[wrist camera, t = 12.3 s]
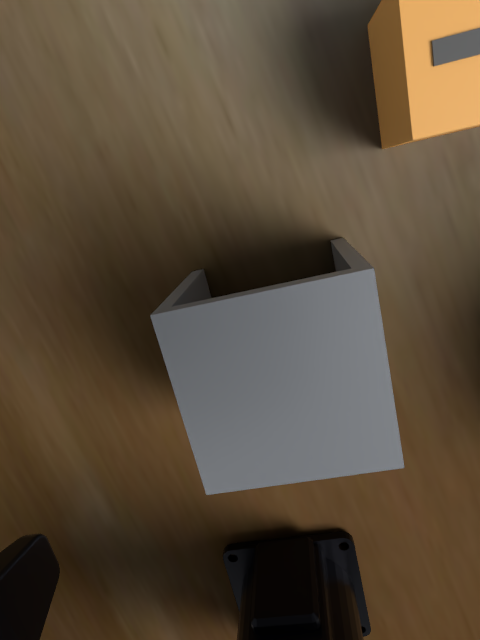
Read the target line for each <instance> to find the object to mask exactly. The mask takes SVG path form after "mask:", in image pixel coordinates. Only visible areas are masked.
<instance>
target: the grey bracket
mask: <svg viewBox="0 0 480 640" xmlns="http://www.w3.org/2000/svg"><path fill="white" fill-rule="evenodd" d="M330 241H331V246H332V252H333V257H334V263H335V269H336V272H333V273H328V274H323V275H319V276H314V277H309V278H304V279H300V280H295V281H290V282H286V283H281V284H276V285H271V286H267V287H262V288H257V289H253V290H248V291H243V292H239V293H234V294H229V295H224V296H220V297H215V298H211V294H210V291H209V287H208V283H207V280H206V276H205V272H204V269H201V270H197V271H192V272H191V273H190V274H189V275H188V276H187V277H186V278H185V279H184V281H183V282H182V283H181V284H180V285H179V286H178V287H177V288H176V289H175V290H174V291H173V292H172V293H171V294H170V295H169V296H168V297H167V298H166V299H165V300H164V301H163V302H162V303H161V305H160V306H159V307H158V308H157V309H156V310H155V311H154V312H153V313H152V314H151V315H150V317H151V320H152V323H153V326H154V330H155V333H156V336H157V339H158V342H159V345H160V349H161V352H162V355H163V358H164V361H165V365H166V368H167V371H168V374H169V377H170V380H171V384H172V387H173V390H174V393H175V396H176V400H177V403H178V406H179V409H180V412H181V415H182V419H183V422H184V425H185V428H186V431H187V434H188V438H189V441H190V444H191V447H192V450H193V454H194V457H195V460H196V463H197V466H198V469H199V473H200V476H201V479H202V482H203V485H204V489H205V492H206V495H210V494H218V493H225V492H232V491H240V490H247V489H254V488H261V487H269V486H276V485H283V484H290V483H298V482H305V481H312V480H320V479H327V478H334V477H341V476H349V475H356V474H363V473H370V472H378V471H385V470H392V469H400V468H404V462H403V455H402V448H401V442H400V435H399V429H398V422H397V416H396V409H395V403H394V396H393V390H392V383H391V376H390V370H389V363H388V357H387V350H386V344H385V337H384V331H383V324H382V318H381V311H380V304H379V298H378V291H377V285H376V278H375V272H374V268H373V267H372V266H371V265H370V264H369V263H368V262H367V261H366V260H365V259H364V258H363V257H362V256H361V255H360V254H359V253H358V252H357V251H356V250H355V249H354V248H353V247H352V246H351V245H350V244H349V243H348V242H347V241H346V240H345V239H344V238H339V239H335V240H330Z"/></svg>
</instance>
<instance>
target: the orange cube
mask: <svg viewBox="0 0 480 640" xmlns="http://www.w3.org/2000/svg"><path fill="white" fill-rule="evenodd" d="M367 26H368V35H369V43H370V52H371V60H372V68H373V77H374V85H375V94H376V102H377V110H378V119H379V127H380V136H381V144H382V149H385V148H389V147H394V146H398V145H402V144H406V143H411V142H415V141H419V140H423V139H428V138H432V137H436V136H440V135H445V134H449V133H453V132H457V131H462V130H466V129H470V128H474V127H479V126H480V0H381V2H380V4H379V6H378V8H377V9H376V11H375V13H374V15H373V17H372V18H371V20H370V22H369V24H368V25H367Z"/></svg>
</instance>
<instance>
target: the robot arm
mask: <svg viewBox="0 0 480 640" xmlns="http://www.w3.org/2000/svg"><path fill="white" fill-rule="evenodd" d="M342 542H346V543H345V544H340V543H342ZM231 554H234V555H236V556H233V555H231ZM223 560H224V563H225V567H226V570H227V573H228V576H229V580H230V583H231V586H232V589H233V592H234V596H235V599H236V602H237V605H238V609H239V612H240V614H239V624H238V635H237V640H363V637H364V636H367V635H369V634H370V632H371V628H370V622H369V617H368V612H367V607H366V602H365V597H364V592H363V587H362V582H361V577H360V571H359V566H358V561H357V556H356V551H355V546H354V541H353V537H352V536H351V535H350V534H349V533H347V532H334V533H325V534H316V535H307V536H298V537H290V538H281V539H272V540H263V541H254V542H245V543H236V544H230V545H227V546H226V547H225V549H224V553H223ZM59 573H60V568H59V563H58V561H57V559H56V556H55V554H54V552H53V550H52V548H51V545H50V543H49V541H48V539H47V537H46V536H45V535H43V534H32V535H25V536H22V537H20V538H19V539H17V540H16V541H15V542H13V543H12V544H11V545H9V546H8V547H7V548H5V549H4V550H3V551H1V552H0V640H40V636H41V633H42V630H43V627H44V624H45V620H46V617H47V614H48V611H49V608H50V604H51V601H52V598H53V595H54V592H55V588H56V585H57V582H58V579H59Z"/></svg>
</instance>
